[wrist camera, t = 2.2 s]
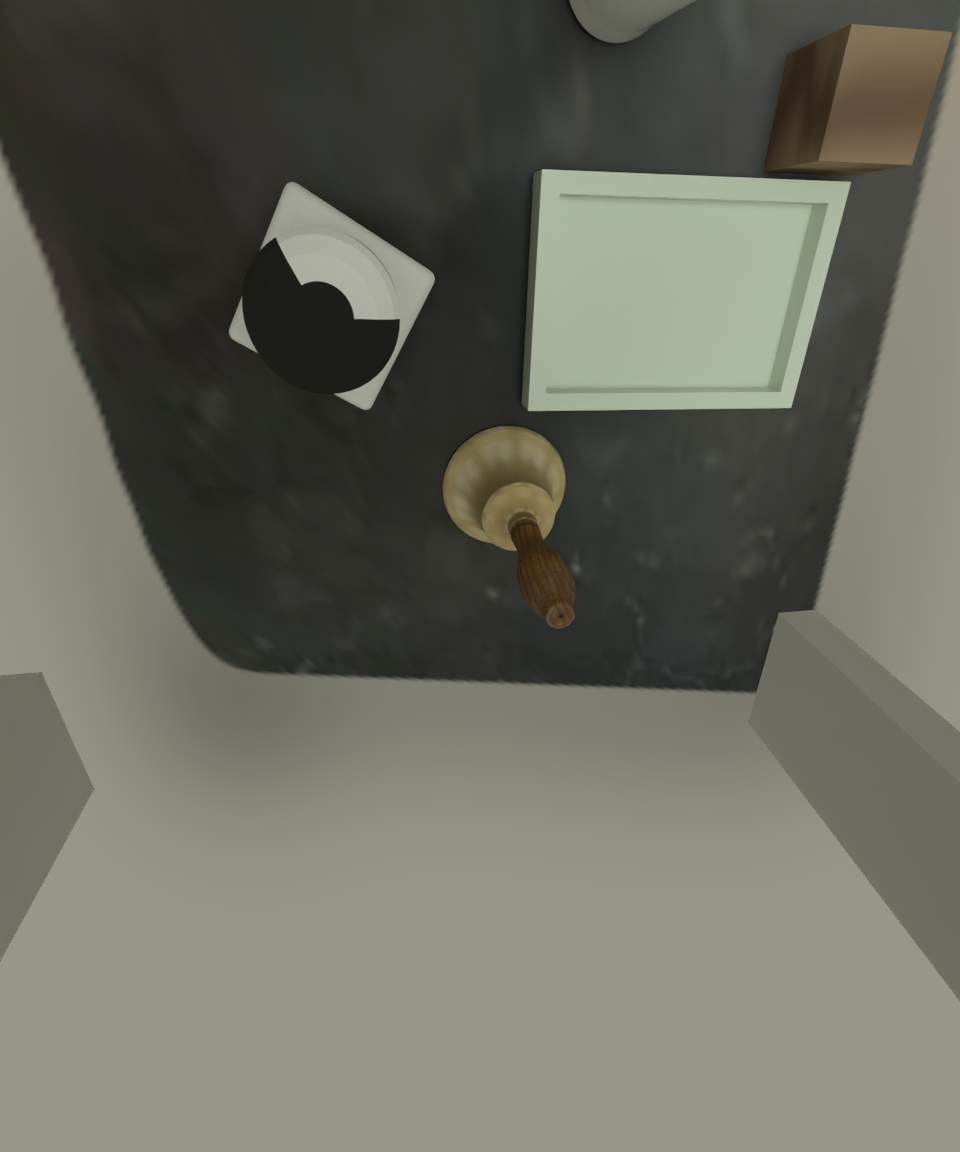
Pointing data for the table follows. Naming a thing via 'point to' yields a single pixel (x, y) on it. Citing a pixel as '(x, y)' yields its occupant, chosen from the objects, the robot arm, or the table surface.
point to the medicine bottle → (328, 300)
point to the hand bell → (514, 509)
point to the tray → (673, 289)
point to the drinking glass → (623, 16)
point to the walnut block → (855, 101)
